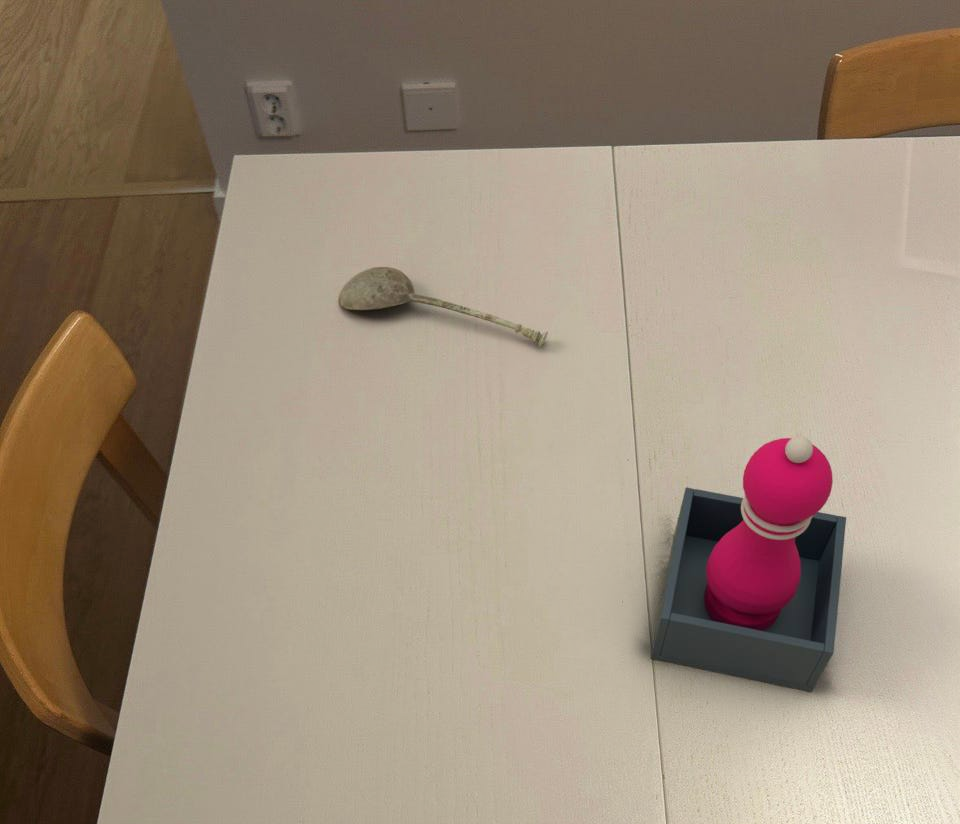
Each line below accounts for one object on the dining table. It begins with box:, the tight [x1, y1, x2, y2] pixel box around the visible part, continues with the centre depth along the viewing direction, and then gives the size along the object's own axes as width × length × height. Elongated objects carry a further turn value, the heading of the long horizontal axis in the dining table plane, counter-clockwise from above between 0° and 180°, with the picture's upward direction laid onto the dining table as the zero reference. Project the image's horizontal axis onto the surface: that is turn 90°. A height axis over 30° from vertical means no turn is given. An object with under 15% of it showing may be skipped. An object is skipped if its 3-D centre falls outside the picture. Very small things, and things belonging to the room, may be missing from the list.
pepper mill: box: [704, 435, 834, 631], centre depth 79 cm, size 7×7×20 cm
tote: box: [649, 487, 847, 693], centre depth 85 cm, size 13×13×6 cm
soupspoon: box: [338, 266, 549, 349], centre depth 105 cm, size 22×3×7 cm
